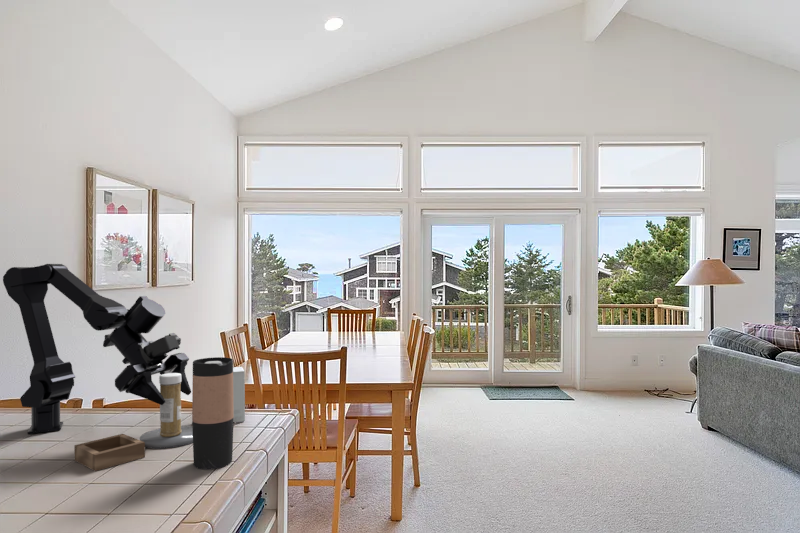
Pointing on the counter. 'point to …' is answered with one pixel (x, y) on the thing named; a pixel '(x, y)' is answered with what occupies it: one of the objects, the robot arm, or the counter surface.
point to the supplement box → (239, 394)
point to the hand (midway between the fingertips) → (177, 398)
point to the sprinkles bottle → (170, 404)
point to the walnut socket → (109, 451)
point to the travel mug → (212, 412)
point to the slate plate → (167, 438)
